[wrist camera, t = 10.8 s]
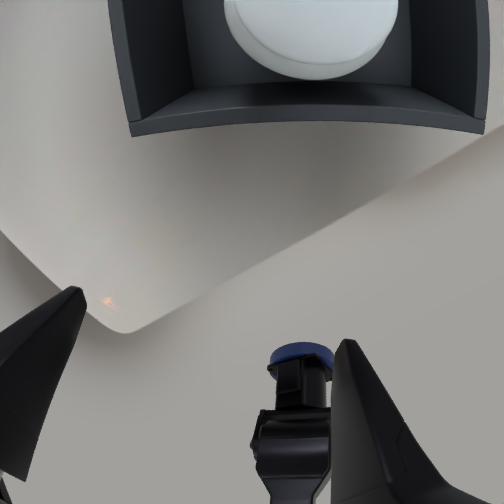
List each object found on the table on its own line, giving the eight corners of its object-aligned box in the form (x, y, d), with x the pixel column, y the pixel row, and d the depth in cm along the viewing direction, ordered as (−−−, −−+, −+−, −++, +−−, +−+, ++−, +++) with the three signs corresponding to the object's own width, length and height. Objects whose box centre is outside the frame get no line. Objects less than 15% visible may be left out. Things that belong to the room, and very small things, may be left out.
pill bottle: (275, 82, 15) (258, 125, 7) (230, 0, 12) (162, -44, 5) (368, 50, 13) (453, 64, 5) (326, -34, 10) (364, -110, 3)
